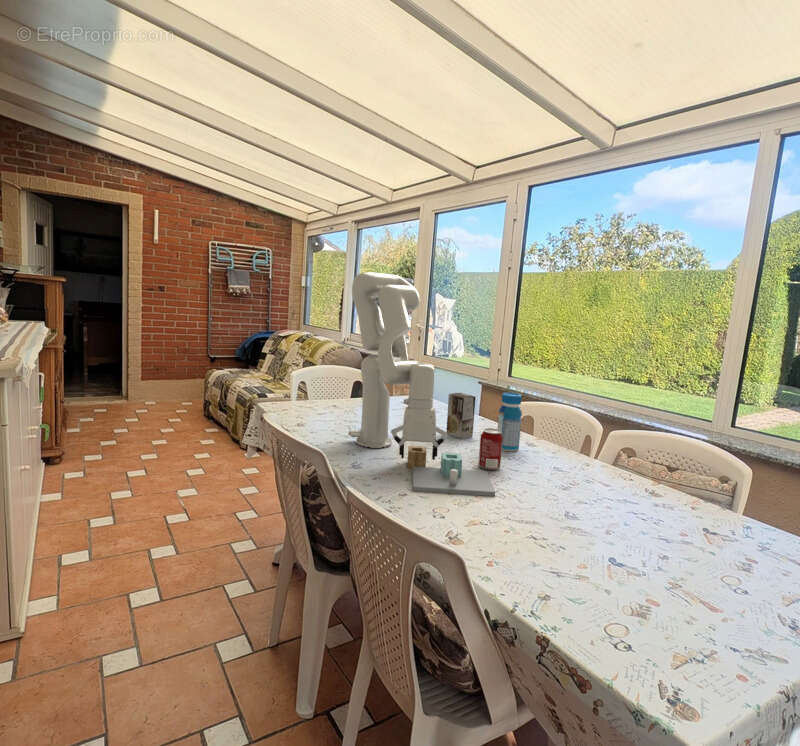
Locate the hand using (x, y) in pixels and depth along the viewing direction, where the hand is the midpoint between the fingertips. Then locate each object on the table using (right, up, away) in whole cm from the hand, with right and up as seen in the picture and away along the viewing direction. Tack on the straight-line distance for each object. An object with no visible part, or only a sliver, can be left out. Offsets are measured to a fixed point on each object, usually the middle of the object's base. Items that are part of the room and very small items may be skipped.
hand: (417, 457), depth 146 cm
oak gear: (-1, -2, +1) cm, 2 cm away
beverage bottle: (+33, -1, +24) cm, 41 cm away
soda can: (+22, -4, +2) cm, 23 cm away
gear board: (+9, -5, -12) cm, 16 cm away
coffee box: (+18, +2, +38) cm, 42 cm away
